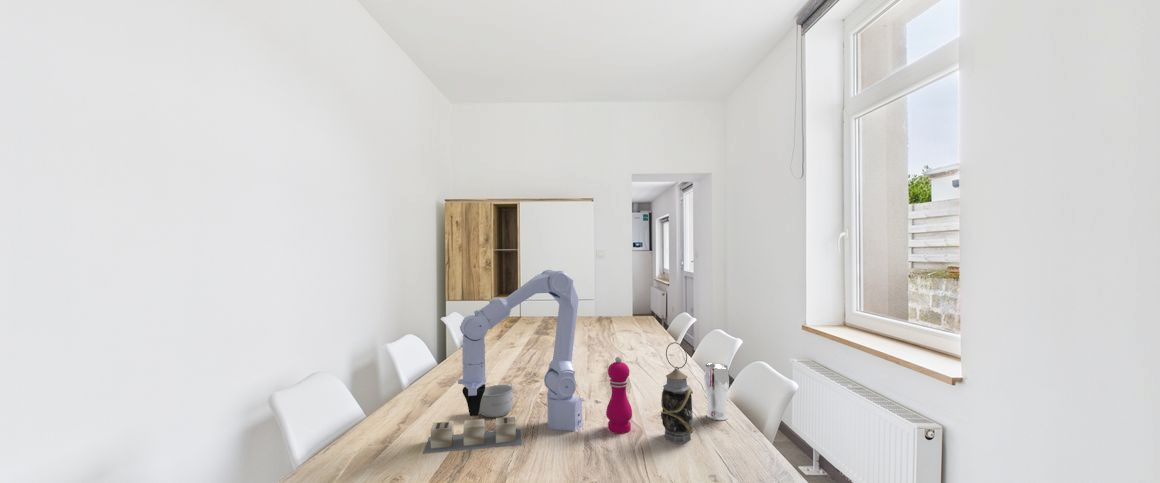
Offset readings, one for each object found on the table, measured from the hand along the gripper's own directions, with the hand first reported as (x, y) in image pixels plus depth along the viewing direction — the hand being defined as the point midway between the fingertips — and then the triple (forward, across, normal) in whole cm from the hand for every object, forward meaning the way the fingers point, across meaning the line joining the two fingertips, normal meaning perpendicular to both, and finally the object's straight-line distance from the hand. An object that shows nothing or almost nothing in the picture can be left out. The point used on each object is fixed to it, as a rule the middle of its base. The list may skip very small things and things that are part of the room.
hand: (474, 415), depth 117 cm
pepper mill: (+8, -2, +39) cm, 40 cm away
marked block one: (+6, 0, +8) cm, 10 cm away
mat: (+7, 0, 0) cm, 7 cm away
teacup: (+8, -21, +6) cm, 23 cm away
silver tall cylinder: (+8, -5, +70) cm, 70 cm away
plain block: (+6, 0, 0) cm, 6 cm away
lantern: (+8, +7, +52) cm, 53 cm away
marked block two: (+6, 0, -8) cm, 10 cm away
